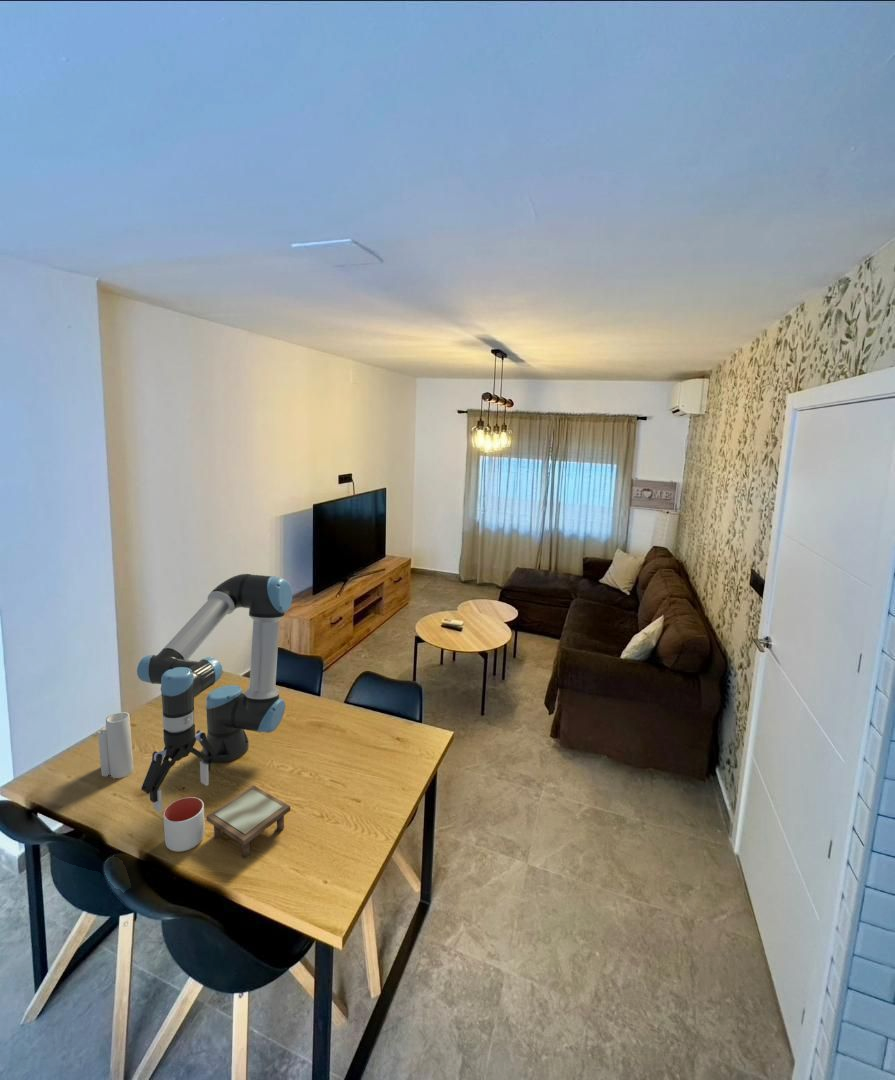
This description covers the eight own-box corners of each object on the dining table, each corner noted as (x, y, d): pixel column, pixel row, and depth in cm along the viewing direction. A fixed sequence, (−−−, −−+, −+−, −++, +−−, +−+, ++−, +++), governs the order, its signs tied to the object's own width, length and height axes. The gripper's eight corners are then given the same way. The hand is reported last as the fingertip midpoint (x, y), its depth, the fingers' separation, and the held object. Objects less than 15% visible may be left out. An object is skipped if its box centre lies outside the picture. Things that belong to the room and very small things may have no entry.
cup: (174, 827, 152) (172, 797, 150) (210, 826, 153) (209, 796, 151) (158, 854, 143) (156, 822, 141) (197, 853, 143) (195, 822, 141)
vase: (138, 768, 177) (134, 714, 173) (119, 781, 170) (114, 725, 166) (113, 760, 180) (108, 707, 176) (93, 772, 173) (87, 717, 169)
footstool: (207, 837, 149) (206, 815, 148) (254, 805, 163) (253, 784, 161) (244, 863, 141) (243, 839, 140) (290, 827, 155) (290, 805, 153)
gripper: (139, 752, 128) (144, 829, 132) (228, 711, 149) (230, 778, 153) (123, 742, 132) (128, 817, 136) (212, 703, 153) (214, 768, 157)
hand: (182, 796), depth 145 cm, fingers open, 13 cm apart
